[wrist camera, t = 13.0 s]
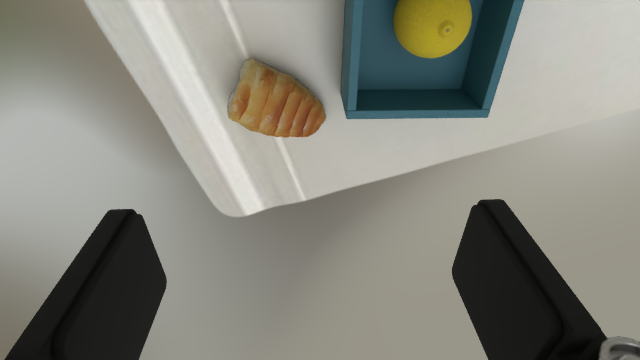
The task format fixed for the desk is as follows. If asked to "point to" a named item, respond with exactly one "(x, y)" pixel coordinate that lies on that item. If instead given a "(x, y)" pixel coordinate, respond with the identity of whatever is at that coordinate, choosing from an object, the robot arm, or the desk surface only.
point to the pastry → (274, 103)
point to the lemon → (431, 25)
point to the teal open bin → (422, 64)
